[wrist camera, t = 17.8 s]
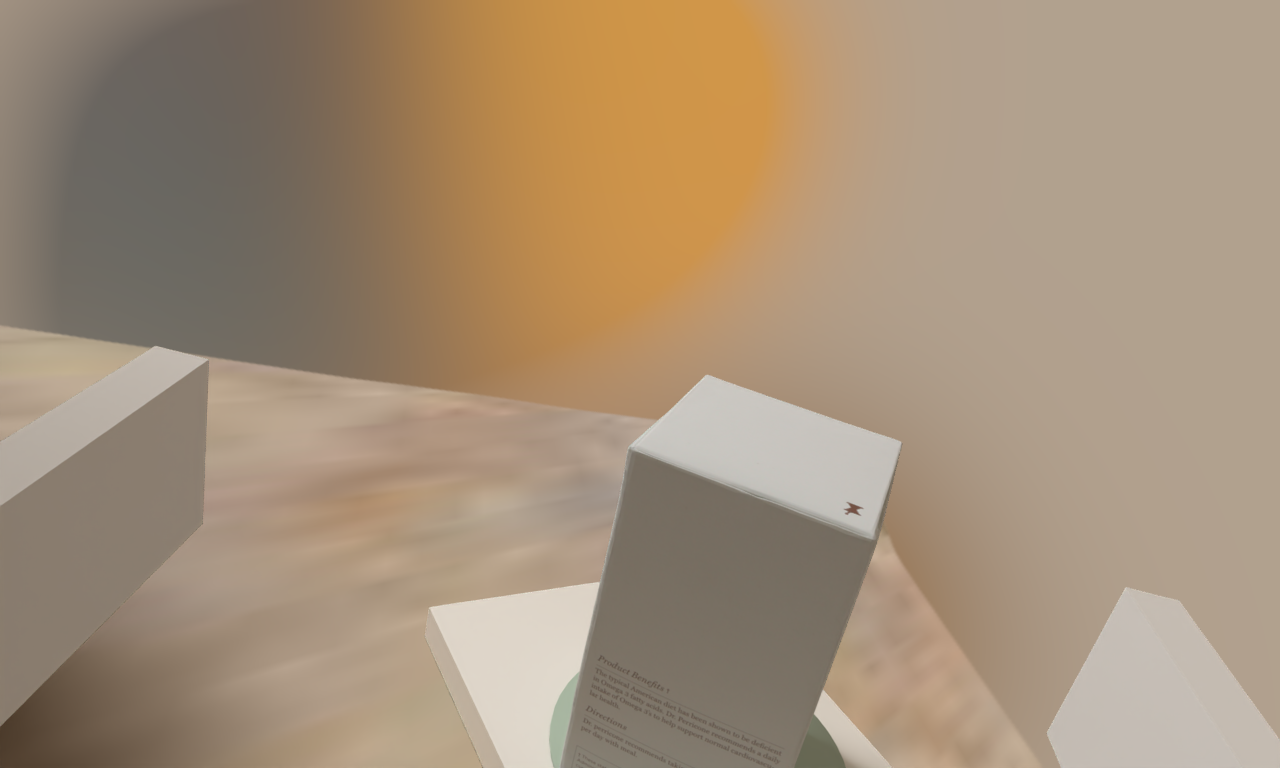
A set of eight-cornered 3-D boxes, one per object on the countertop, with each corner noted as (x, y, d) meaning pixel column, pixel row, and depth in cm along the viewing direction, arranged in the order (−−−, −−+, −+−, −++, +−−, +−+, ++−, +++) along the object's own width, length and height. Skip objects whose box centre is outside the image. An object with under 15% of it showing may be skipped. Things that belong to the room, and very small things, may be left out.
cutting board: (424, 636, 38) (429, 603, 37) (704, 590, 45) (713, 561, 45) (661, 1167, 23) (677, 1127, 22) (1027, 970, 30) (1047, 934, 29)
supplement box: (805, 729, 35) (914, 441, 30) (754, 876, 29) (882, 540, 24) (632, 649, 37) (707, 367, 32) (547, 771, 31) (625, 441, 26)
